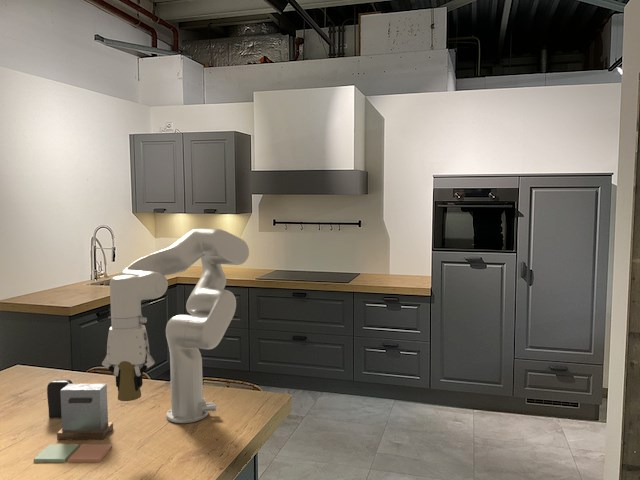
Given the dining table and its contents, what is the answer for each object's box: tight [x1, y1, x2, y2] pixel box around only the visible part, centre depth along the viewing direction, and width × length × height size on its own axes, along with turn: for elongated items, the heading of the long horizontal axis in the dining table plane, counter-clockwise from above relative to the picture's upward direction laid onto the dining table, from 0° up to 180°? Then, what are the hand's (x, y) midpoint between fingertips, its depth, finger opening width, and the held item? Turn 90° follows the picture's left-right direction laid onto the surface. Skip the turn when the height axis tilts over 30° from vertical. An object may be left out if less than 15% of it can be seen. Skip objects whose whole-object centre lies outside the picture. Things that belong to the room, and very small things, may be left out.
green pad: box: [33, 444, 80, 463], centre depth 143 cm, size 8×8×1 cm
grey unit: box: [56, 383, 114, 441], centre depth 154 cm, size 13×7×14 cm, turn 90°
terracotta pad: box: [68, 443, 113, 463], centre depth 143 cm, size 8×8×1 cm
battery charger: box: [46, 378, 74, 419], centre depth 167 cm, size 7×4×11 cm, turn 92°
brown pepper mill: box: [117, 361, 142, 402], centre depth 144 cm, size 6×6×11 cm
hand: (129, 388), depth 145 cm, fingers closed on brown pepper mill, 3 cm apart
